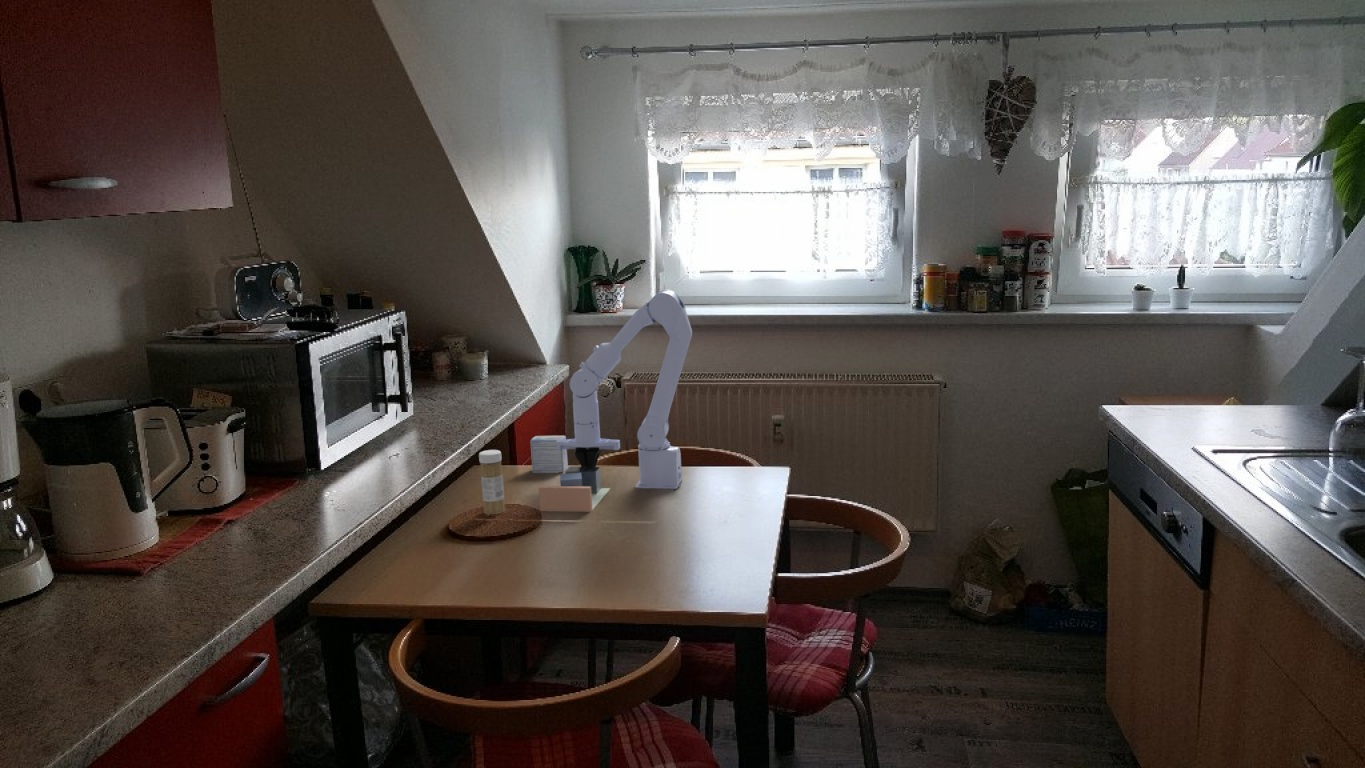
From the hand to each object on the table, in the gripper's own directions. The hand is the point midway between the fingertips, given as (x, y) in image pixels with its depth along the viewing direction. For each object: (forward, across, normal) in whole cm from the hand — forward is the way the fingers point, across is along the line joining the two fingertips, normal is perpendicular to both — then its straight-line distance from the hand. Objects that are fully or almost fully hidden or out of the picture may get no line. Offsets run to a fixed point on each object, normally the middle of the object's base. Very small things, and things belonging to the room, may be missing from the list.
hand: (589, 479), depth 223 cm
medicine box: (+2, +13, -11) cm, 17 cm away
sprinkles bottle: (+2, +15, +22) cm, 26 cm away
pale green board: (+1, 0, +12) cm, 12 cm away
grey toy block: (+1, 0, +5) cm, 5 cm away
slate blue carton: (+1, 0, +15) cm, 15 cm away
